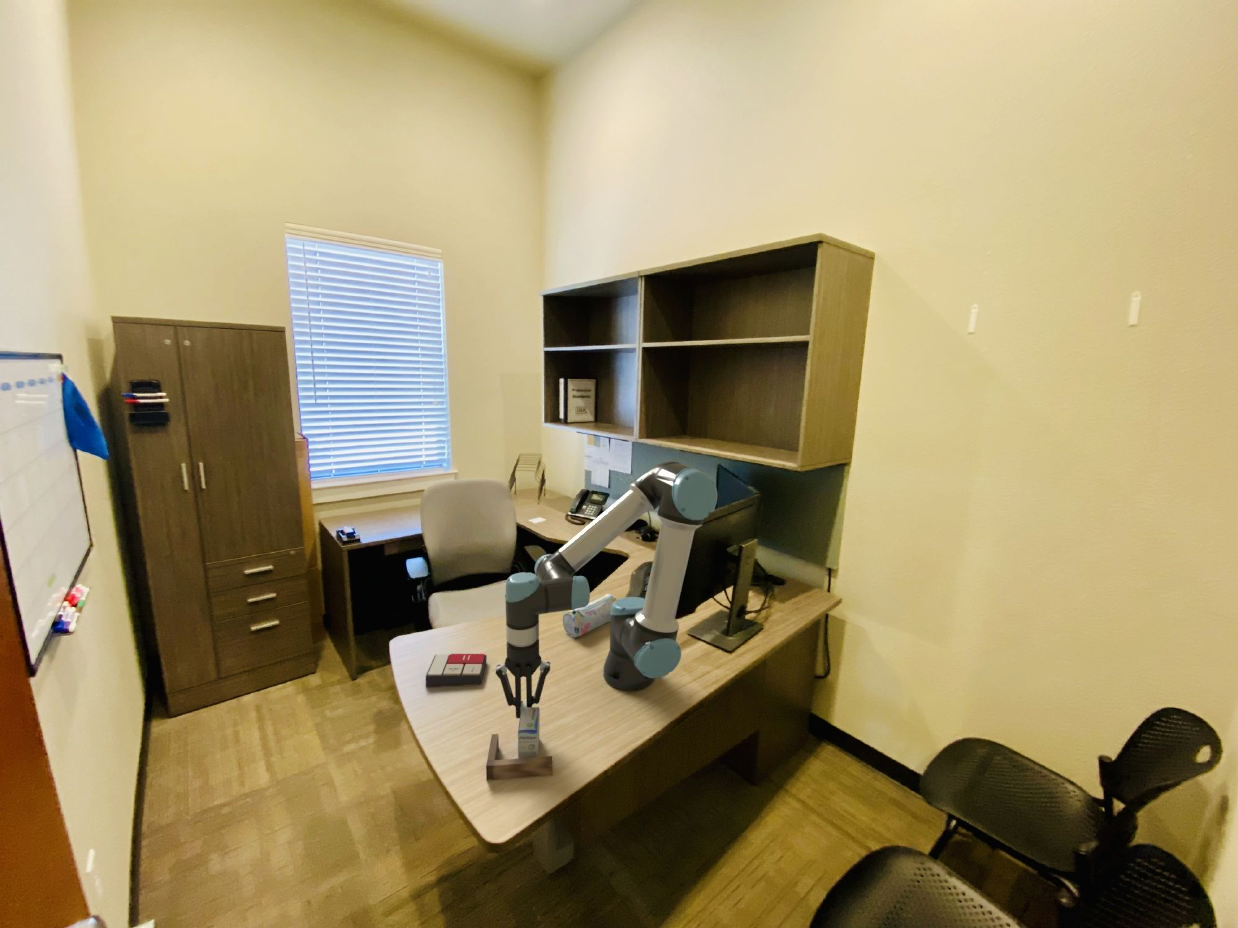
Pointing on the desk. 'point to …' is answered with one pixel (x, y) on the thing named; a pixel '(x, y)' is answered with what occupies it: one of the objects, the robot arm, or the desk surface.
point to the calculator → (456, 670)
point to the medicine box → (528, 732)
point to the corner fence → (515, 765)
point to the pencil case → (588, 616)
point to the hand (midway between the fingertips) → (524, 728)
